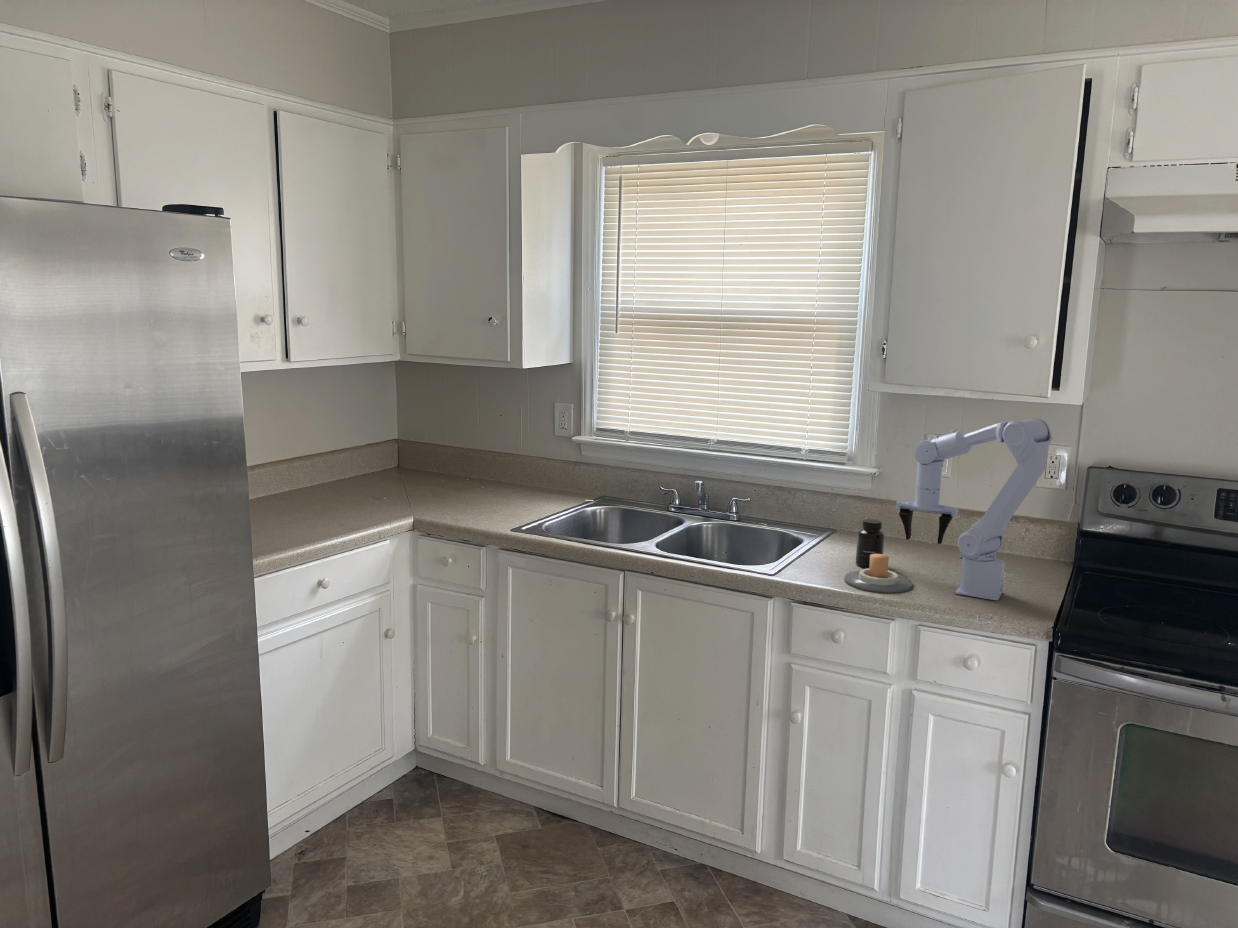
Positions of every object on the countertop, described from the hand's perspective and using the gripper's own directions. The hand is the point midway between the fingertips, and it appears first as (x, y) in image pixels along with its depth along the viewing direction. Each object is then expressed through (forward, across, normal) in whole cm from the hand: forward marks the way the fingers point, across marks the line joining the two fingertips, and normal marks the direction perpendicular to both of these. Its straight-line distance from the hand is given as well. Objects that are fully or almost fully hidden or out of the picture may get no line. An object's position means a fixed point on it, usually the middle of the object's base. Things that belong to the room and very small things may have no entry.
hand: (923, 540), depth 226 cm
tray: (+9, +8, +11) cm, 17 cm away
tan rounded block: (+9, +8, +11) cm, 16 cm away
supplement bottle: (+10, +14, -3) cm, 17 cm away
